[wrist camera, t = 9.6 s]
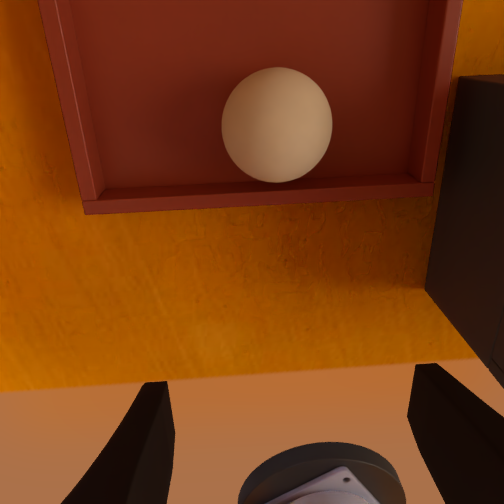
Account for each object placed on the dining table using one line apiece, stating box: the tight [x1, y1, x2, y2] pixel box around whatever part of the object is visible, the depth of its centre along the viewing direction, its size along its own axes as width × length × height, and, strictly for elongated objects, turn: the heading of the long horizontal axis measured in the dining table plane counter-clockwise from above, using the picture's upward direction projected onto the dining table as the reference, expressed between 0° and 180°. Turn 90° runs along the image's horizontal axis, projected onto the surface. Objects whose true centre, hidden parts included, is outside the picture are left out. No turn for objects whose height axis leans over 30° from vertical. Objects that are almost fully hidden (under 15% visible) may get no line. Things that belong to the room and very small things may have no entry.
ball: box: [222, 67, 332, 183], centre depth 16 cm, size 4×4×4 cm
